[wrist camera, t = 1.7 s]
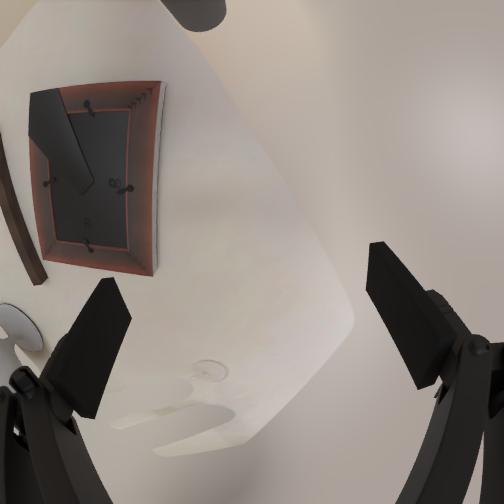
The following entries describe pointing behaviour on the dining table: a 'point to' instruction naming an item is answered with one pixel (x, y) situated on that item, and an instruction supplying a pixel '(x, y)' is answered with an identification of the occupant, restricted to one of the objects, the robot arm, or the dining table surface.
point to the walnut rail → (18, 225)
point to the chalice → (15, 341)
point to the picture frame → (97, 173)
